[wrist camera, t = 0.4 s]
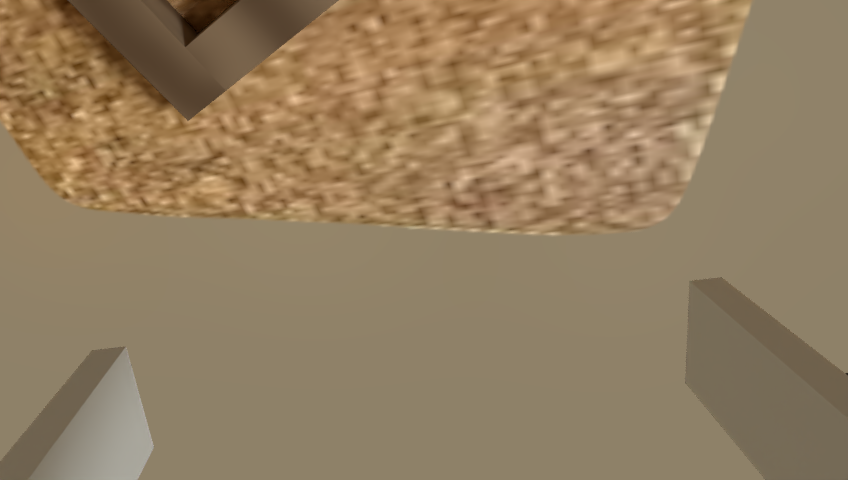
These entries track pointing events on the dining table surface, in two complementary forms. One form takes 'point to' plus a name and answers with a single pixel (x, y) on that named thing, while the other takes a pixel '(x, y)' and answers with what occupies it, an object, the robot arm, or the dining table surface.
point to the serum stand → (198, 42)
